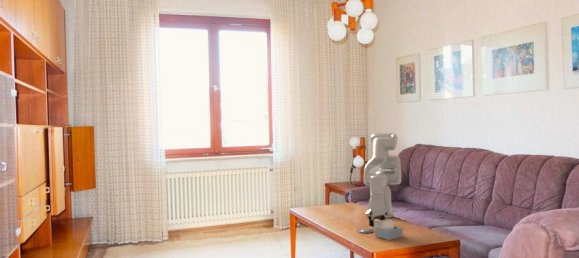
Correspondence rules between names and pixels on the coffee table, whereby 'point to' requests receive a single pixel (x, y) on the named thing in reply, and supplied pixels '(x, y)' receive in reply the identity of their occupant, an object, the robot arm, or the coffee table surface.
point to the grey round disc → (365, 230)
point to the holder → (389, 233)
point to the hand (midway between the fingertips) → (377, 225)
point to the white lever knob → (384, 224)
